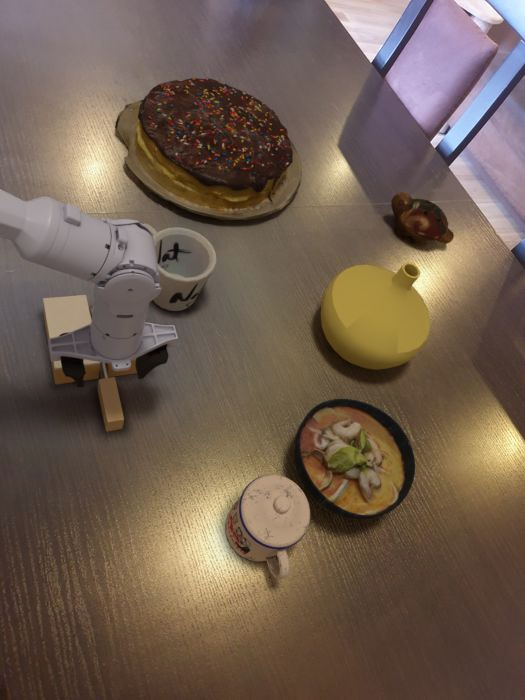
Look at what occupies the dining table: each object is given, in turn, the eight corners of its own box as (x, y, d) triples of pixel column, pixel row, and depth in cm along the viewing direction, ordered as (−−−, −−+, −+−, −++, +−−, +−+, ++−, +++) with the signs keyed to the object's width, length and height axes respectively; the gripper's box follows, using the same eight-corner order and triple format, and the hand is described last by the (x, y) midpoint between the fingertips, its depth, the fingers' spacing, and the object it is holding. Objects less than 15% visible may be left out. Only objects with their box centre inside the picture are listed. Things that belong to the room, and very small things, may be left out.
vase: (392, 403, 94) (458, 342, 78) (293, 355, 93) (340, 284, 77) (412, 324, 104) (473, 257, 89) (323, 280, 104) (369, 205, 88)
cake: (266, 103, 128) (279, 61, 120) (325, 222, 112) (344, 183, 103) (101, 96, 114) (103, 48, 106) (140, 231, 97) (145, 187, 89)
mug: (170, 330, 88) (181, 292, 80) (107, 267, 91) (112, 224, 83) (216, 299, 94) (231, 260, 86) (156, 241, 97) (165, 198, 89)
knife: (122, 429, 78) (124, 419, 75) (106, 431, 77) (107, 422, 74) (98, 318, 86) (99, 306, 83) (83, 319, 85) (83, 307, 82)
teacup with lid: (216, 501, 76) (238, 472, 67) (277, 490, 80) (306, 460, 70) (237, 594, 71) (264, 577, 61) (302, 578, 74) (337, 559, 65)
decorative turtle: (378, 205, 120) (399, 176, 114) (440, 234, 123) (463, 207, 116) (376, 235, 114) (398, 206, 108) (441, 264, 117) (465, 237, 110)
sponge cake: (55, 384, 78) (54, 368, 75) (43, 316, 83) (42, 298, 80) (147, 371, 84) (151, 356, 80) (131, 308, 88) (134, 290, 85)
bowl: (402, 519, 83) (439, 499, 75) (298, 546, 76) (326, 526, 68) (361, 414, 91) (391, 385, 83) (263, 430, 84) (285, 400, 76)
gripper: (54, 356, 57) (55, 413, 68) (191, 340, 63) (171, 395, 74) (44, 299, 60) (46, 363, 71) (176, 289, 66) (159, 349, 77)
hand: (109, 376), depth 73 cm, fingers open, 7 cm apart
